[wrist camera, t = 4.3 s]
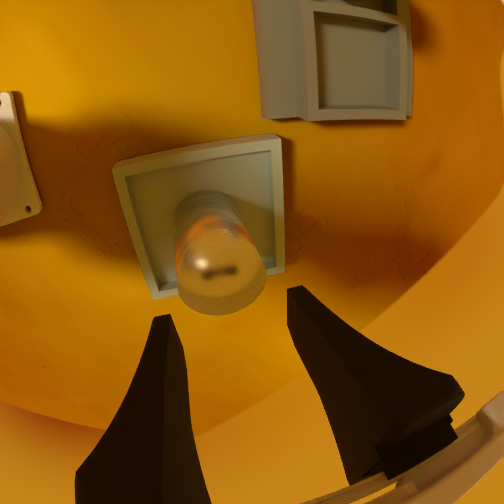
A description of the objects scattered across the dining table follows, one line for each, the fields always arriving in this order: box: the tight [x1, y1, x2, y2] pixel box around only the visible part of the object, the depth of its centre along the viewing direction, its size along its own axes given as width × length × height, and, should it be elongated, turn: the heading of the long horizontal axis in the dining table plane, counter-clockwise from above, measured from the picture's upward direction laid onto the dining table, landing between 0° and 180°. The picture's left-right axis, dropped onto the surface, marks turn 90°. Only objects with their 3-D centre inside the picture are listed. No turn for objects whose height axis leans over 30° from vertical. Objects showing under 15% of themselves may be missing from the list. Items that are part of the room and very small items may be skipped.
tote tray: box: [111, 133, 285, 300], centre depth 18 cm, size 9×9×1 cm
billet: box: [174, 190, 266, 315], centre depth 16 cm, size 4×4×6 cm
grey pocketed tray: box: [252, 0, 413, 121], centre depth 12 cm, size 10×13×3 cm
